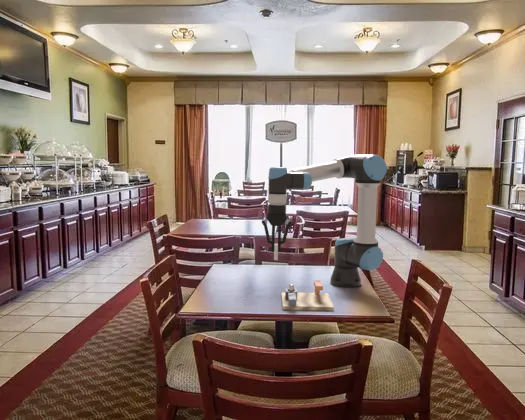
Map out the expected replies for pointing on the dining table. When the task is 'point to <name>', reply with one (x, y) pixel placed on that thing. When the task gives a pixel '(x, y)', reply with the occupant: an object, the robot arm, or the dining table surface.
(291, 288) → the pintle
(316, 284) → the keeper
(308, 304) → the board
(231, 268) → the dining table surface
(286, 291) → the link
